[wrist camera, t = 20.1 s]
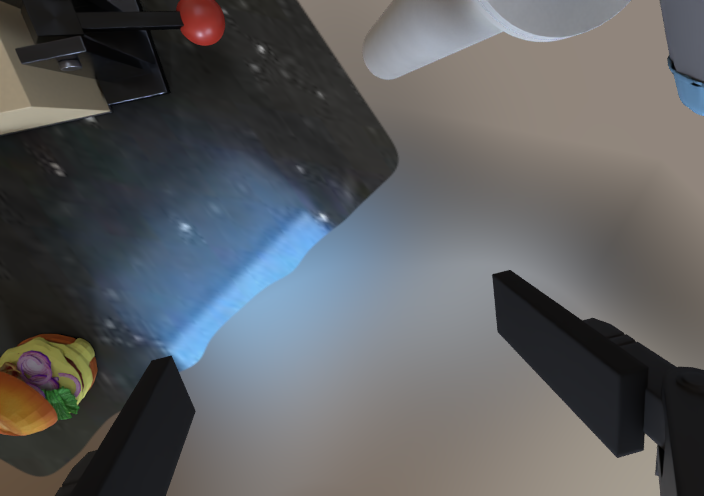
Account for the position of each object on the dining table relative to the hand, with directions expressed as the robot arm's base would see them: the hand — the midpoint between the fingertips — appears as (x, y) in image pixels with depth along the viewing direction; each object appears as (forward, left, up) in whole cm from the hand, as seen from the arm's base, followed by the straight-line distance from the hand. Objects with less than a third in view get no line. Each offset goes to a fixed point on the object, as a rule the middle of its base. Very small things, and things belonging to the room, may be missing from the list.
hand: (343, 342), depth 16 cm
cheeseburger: (+31, +22, -32) cm, 50 cm away
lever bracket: (+19, -14, -32) cm, 39 cm away
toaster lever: (+16, -15, -25) cm, 33 cm away
